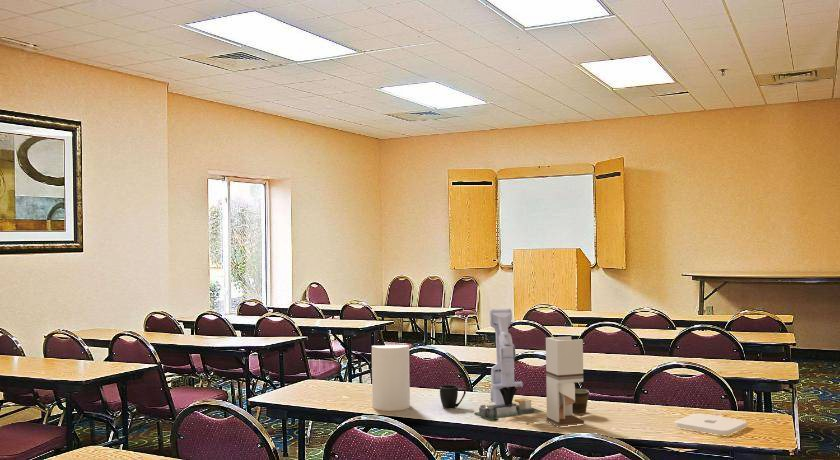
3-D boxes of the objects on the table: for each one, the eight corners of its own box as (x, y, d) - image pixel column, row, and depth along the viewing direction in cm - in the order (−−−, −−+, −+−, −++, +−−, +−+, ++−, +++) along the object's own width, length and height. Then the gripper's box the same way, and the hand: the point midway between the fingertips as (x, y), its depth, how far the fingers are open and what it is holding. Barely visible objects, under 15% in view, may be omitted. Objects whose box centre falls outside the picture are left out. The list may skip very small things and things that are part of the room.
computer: (671, 428, 298) (671, 421, 298) (696, 419, 314) (696, 412, 314) (726, 438, 283) (726, 431, 283) (749, 427, 298) (749, 421, 298)
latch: (514, 409, 330) (514, 399, 330) (524, 408, 332) (524, 397, 332) (521, 411, 325) (520, 401, 325) (531, 410, 328) (531, 399, 328)
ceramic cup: (581, 410, 330) (580, 387, 330) (594, 415, 321) (593, 392, 321) (555, 413, 325) (555, 390, 326) (568, 418, 316) (567, 394, 316)
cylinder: (409, 410, 334) (409, 347, 335) (371, 410, 334) (370, 348, 335) (410, 402, 352) (409, 342, 352) (373, 402, 351) (372, 343, 352)
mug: (462, 410, 333) (462, 389, 333) (437, 408, 337) (437, 387, 337) (468, 406, 340) (467, 385, 340) (443, 404, 345) (443, 384, 345)
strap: (482, 409, 322) (482, 406, 322) (510, 404, 328) (510, 402, 328) (488, 411, 318) (488, 408, 318) (516, 406, 324) (516, 403, 324)
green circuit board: (473, 414, 325) (473, 404, 325) (525, 407, 338) (524, 397, 338) (490, 421, 312) (490, 410, 312) (543, 413, 325) (543, 403, 325)
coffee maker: (558, 427, 300) (557, 340, 301) (546, 421, 310) (545, 337, 311) (584, 425, 303) (582, 339, 304) (571, 419, 314) (570, 336, 314)
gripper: (498, 376, 318) (499, 408, 318) (526, 373, 325) (527, 404, 325) (489, 373, 325) (490, 405, 324) (517, 370, 331) (517, 401, 331)
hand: (508, 404), depth 325 cm, fingers closed, pressing on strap
